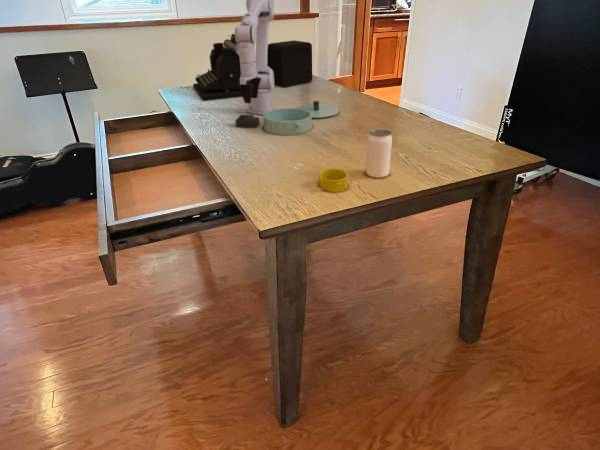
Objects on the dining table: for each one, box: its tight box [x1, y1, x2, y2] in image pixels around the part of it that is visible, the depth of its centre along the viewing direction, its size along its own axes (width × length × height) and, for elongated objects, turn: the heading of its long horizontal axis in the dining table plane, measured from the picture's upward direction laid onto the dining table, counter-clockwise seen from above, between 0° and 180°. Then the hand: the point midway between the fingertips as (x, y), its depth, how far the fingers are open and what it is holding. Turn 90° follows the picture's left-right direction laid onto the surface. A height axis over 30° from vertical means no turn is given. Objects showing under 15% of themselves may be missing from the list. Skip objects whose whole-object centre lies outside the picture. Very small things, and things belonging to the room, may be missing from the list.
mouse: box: [235, 114, 260, 129], centre depth 158 cm, size 8×5×4 cm, turn 77°
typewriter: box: [192, 33, 243, 102], centre depth 204 cm, size 31×27×25 cm
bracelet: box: [318, 168, 349, 193], centre depth 110 cm, size 7×8×3 cm
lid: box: [296, 100, 340, 119], centre depth 171 cm, size 19×19×5 cm
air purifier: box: [267, 40, 313, 88], centre depth 218 cm, size 20×15×20 cm
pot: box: [262, 107, 313, 136], centre depth 155 cm, size 18×23×5 cm
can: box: [365, 128, 393, 179], centre depth 114 cm, size 6×6×12 cm
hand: (251, 100), depth 156 cm, fingers open, 7 cm apart
